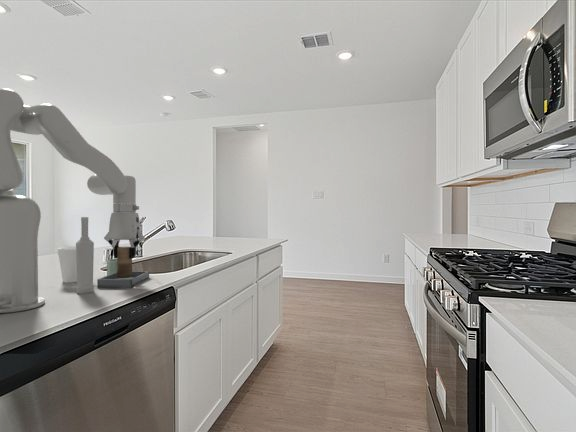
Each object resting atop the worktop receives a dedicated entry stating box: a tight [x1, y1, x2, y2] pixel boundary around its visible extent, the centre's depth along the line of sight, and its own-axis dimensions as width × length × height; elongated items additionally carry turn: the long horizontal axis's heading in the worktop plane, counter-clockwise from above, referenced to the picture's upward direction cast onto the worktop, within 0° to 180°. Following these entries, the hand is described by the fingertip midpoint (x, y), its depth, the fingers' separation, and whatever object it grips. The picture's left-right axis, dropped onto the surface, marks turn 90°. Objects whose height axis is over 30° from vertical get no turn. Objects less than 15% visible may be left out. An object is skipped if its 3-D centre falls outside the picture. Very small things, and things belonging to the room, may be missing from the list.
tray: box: [96, 270, 150, 289], centre depth 126 cm, size 15×12×3 cm
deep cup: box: [106, 258, 117, 276], centre depth 139 cm, size 8×8×6 cm
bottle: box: [75, 216, 95, 295], centre depth 113 cm, size 5×5×25 cm
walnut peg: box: [116, 246, 133, 278], centre depth 126 cm, size 5×5×11 cm
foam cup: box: [57, 245, 77, 283], centre depth 127 cm, size 10×9×13 cm
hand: (124, 257), depth 126 cm, fingers closed on walnut peg, 5 cm apart
